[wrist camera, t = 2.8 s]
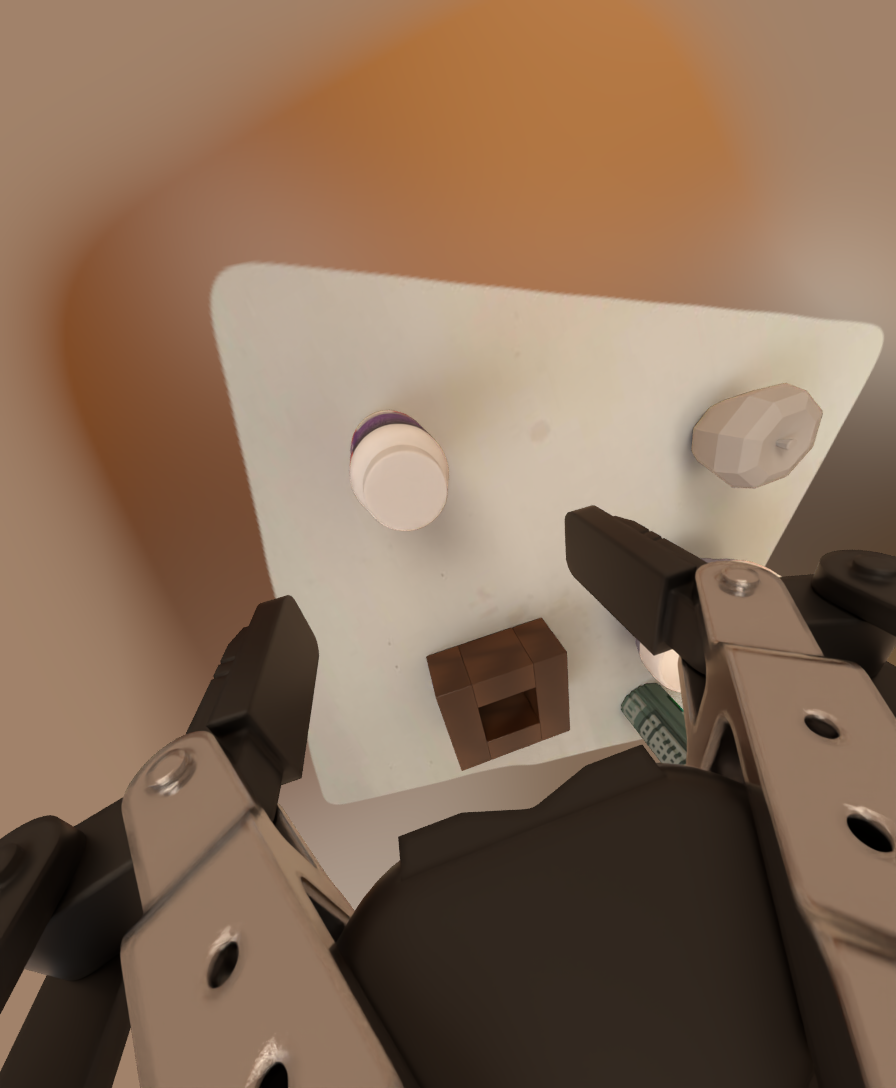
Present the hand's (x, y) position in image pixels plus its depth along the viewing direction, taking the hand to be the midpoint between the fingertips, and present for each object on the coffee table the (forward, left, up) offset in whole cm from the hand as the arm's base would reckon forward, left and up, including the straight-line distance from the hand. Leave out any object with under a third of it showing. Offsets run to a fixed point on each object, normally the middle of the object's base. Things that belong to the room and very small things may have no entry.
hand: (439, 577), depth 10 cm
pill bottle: (0, 0, -17) cm, 17 cm away
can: (+24, -42, -17) cm, 51 cm away
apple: (+27, -5, -17) cm, 33 cm away
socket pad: (+4, -27, -17) cm, 32 cm away
